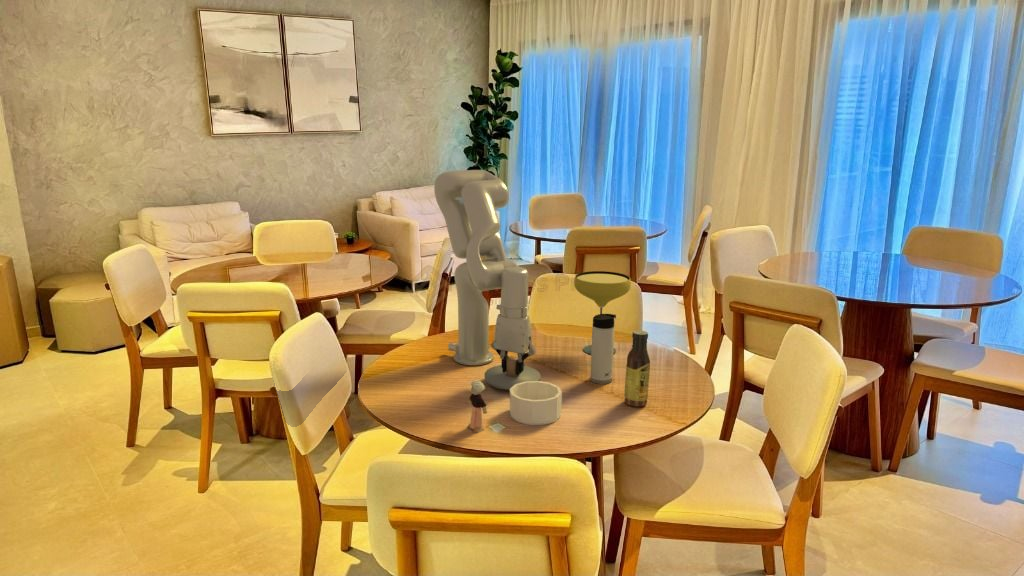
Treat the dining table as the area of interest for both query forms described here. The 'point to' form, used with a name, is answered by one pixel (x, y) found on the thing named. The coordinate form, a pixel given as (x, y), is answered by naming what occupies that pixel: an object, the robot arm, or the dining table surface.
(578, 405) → the dining table surface
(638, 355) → the sauce bottle
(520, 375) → the lid
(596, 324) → the travel mug
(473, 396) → the grandmother figurine
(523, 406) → the bowl
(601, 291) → the cocktail glass
